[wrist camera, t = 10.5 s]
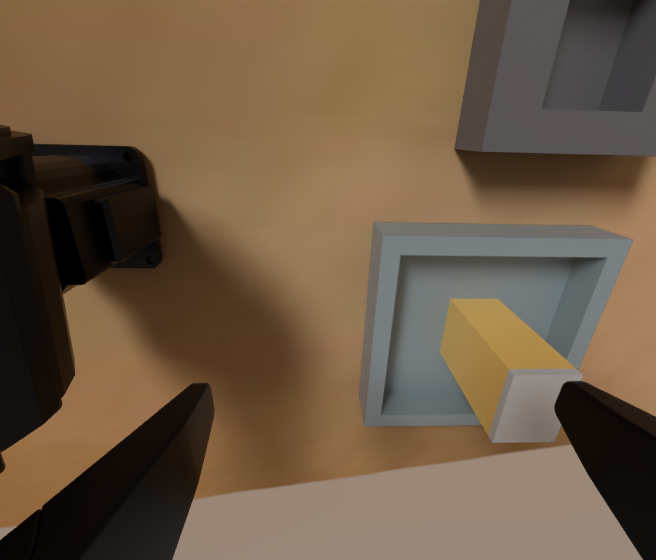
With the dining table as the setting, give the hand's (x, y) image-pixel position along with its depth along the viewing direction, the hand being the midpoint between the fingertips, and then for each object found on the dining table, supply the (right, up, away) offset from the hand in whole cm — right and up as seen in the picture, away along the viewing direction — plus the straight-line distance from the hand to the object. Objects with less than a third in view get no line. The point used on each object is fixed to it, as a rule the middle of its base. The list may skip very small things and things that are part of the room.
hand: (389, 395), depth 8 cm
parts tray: (+7, 0, +13) cm, 15 cm away
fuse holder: (+10, +14, +7) cm, 19 cm away
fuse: (+7, 0, +13) cm, 15 cm away
